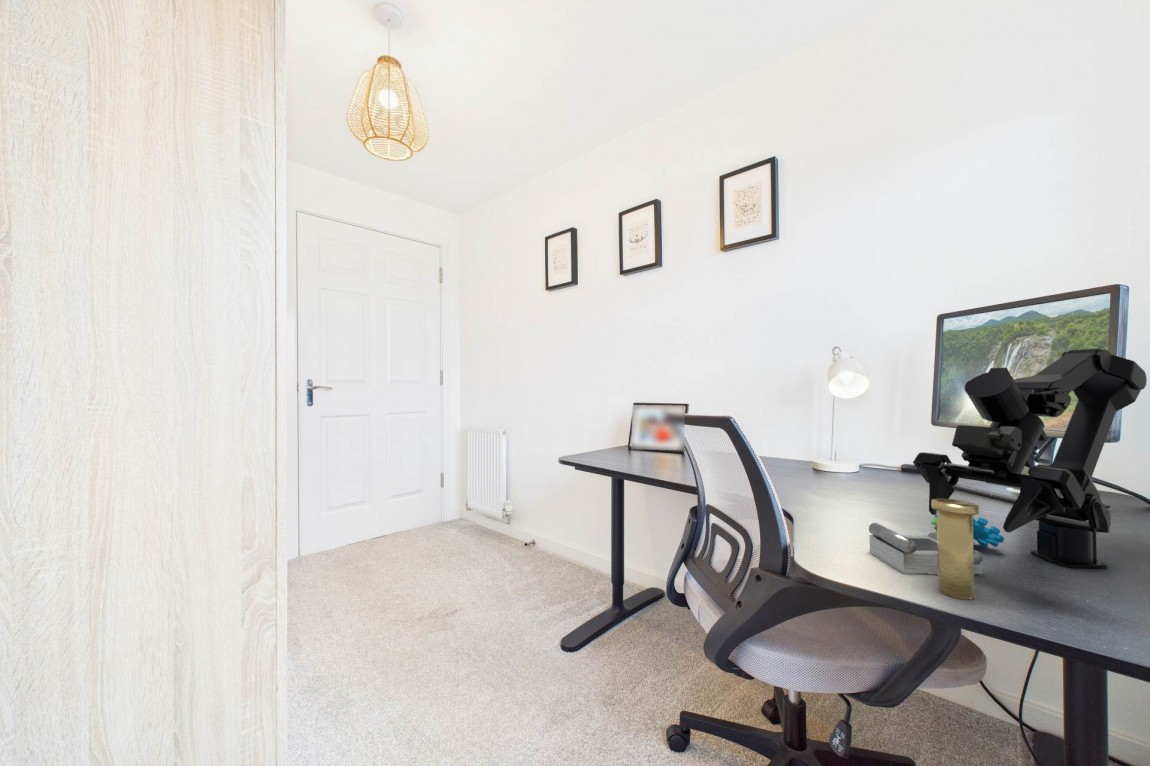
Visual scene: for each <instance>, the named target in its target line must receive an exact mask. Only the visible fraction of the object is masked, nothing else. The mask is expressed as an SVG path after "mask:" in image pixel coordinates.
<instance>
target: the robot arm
mask: <svg viewBox="0 0 1150 766" xmlns="http://www.w3.org/2000/svg"><path fill="white" fill-rule="evenodd" d="M1147 380H1148V379H1147V374H1146V372H1145V370H1144V369H1143V368H1142V367H1141V366H1140V365H1139V364H1138V363H1136V361H1134V360H1133V359H1132V360H1131V359H1129V358H1124V357H1121V356H1119V355H1115V354H1112V353H1111V352H1110V351H1109V350H1108V349H1106V348H1103V349H1102V348H1100V347H1098V348H1097V347H1095V348H1079V349H1078V348H1077V349H1069V350H1067V351H1063V353H1062V354H1061V357H1060V358H1058V359H1056V360H1055V361H1054V362H1052V363H1051V364H1048V365H1047V366H1046V367H1044V368H1043V369H1042V370H1041V371H1039V372H1037V373H1036V374H1034V375H1031V376H1026V377H1017V378H1013V376H1012V375H1011V372H1010V370H1009V369H1008V368H1007V367H991V368H990V369H989V371H987V372H985V373H981V374H979V375H976V376H975V377H973V378H971V379H970V380H968V381H966V383H965V385H964V392H965V393H966V394H967V396H968V398H969V400H970V401H971V403H972V404H973V406H974V407H975V409H976V411H977V412H978V414H979V416H980V417H981V419H983V420H985V421H987V422H990V425H989V426H978V425H976V426H975V425H964V424H963V425H961V424H960V425H956V428H955V432H954V435H953V439H952V444H951V446H952V447H955V448H957V449H958V450H960V451H962V453H961V455H960V456H961V458H962V460H963V461H965V462H968V465H965V464H960V463H959V464H957V463H953V462H952V461H951V459H950V458H949V456H948V455H947V454H943V453H942V454H941V453H934V452H933V453H932V452H923V451H921V452H919V453H918V454H917V455H915V458H914V460H913V461H912V463H913V464H914V465H913V466H915V467H916V469H917V471H918V472H919V473H920V475H921V476H922V478H923V479H924V481H925V482H926V483H927V484H928V485H929V492H928V493H929V494H928V495H929V496H928V511H929V513H930V514H931V515H932V516H935V514H936V513H937V510H935V509H933V508H932V504H931V500H932V499H950V497H951V496H953V494H954V492H955V491H956V490H955V489H954V487H955V486H956V485H957V484H958V482H959V481H960V480H959V479H964V480H970V481H977V482H983V483H985V484H988V485H989V484H990V485H994V486H1001V487H1007V488H1013V489H1019V494H1018V496H1017V498H1016V500H1015V501H1014V504H1013V505H1012V507H1011V509H1010V510H1009V512H1008V514H1007V515H1006V517H1005V520H1004V523H1003V526H1002V528H1003V530H1004V532H1006V533H1011V532H1013V531H1016V530H1017V529H1019V528H1021V527H1023V526H1025V525H1027V524H1028V523H1030V522H1033V521H1038V529H1037V531H1036V549H1030V554H1032V555H1035V556H1038V557H1040V558H1043V559H1046V560H1048V561H1050V562H1053V563H1055V564H1058V565H1060V566H1063V567H1067V568H1095V569H1096V568H1098V569H1099V568H1107V569H1108V568H1109V565H1108V564H1107V563H1104V562H1101V561H1098V558H1097V557H1098V555H1097V552H1098V551H1097V548H1098V547H1097V534H1098V533H1104V534H1105V533H1106V534H1109V533H1110V532H1111V531H1110V528H1111V525H1112V522H1111V520H1112V517H1111V515H1110V513H1109V511H1108V509H1107V508H1106V506H1105V504H1104V503H1103V501H1102V500H1101V494H1100V492H1099V490H1098V489H1097V487H1096V484H1095V483H1094V481H1093V479H1092V477H1093V475H1094V472H1095V469H1096V466H1097V465H1098V464H1097V463H1098V461H1099V459H1100V455H1101V454H1102V451H1103V448H1104V446H1105V443H1106V440H1107V437H1108V434H1109V432H1110V430H1111V427H1112V425H1113V422H1114V420H1115V419H1114V418H1115V417H1116V414H1117V412H1118V411H1120V410H1123V409H1124V408H1126V407H1128V406H1129V405H1132V404H1133V403H1135V402H1136V400H1137V399H1138V397H1139V395H1140V393H1141V391H1142V390H1144V389H1145V388H1146V386H1147ZM1072 392H1073V393H1074V395H1075V397H1076V398H1077V402H1076V405H1075V407H1074V409H1073V412H1072V414H1071V417H1070V419H1069V422H1068V424H1067V427H1066V429H1065V432H1064V434H1063V437H1062V439H1061V441H1060V443H1059V446H1058V449H1057V451H1056V453H1055V456H1054V459H1053V461H1052V463H1051V464H1049V465H1043V464H1037V465H1033V464H1034V461H1033V459H1032V458H1031V455H1032V452H1034V449H1035V446H1036V444H1037V443H1038V442H1047V433H1046V432H1045V430H1044V429H1045V423H1044V421H1043V420H1042V419H1041V418H1040V417H1042V418H1043V417H1044V418H1058V417H1060V416H1061V415H1063V413H1064V412H1065V411H1066V410H1067V409H1068V408H1069V406H1070V404H1071V402H1072V396H1071V395H1070V394H1071V393H1072ZM1025 467H1029V468H1028V470H1027V473H1028V474H1022V471H1024V468H1025Z"/></svg>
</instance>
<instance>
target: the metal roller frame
mask: <svg viewBox="0 0 1150 766" xmlns="http://www.w3.org/2000/svg"><path fill="white" fill-rule="evenodd" d="M868 531H869V533H870V534H869V554H871V555H872V556H874V557H876V558H877V559H879V560H880V561H882V562H884V564H887V565H888V566H890V567H891V568H893V569H895V570H897V571H898V572H900V573H901V574H903V575H916V574H915V573H928V574H927V575H938V558H937V533H935V532H930V533H928V535H904V534H903V535H901V534H900V533H898V532H896V531H894V530H891V529H890V528H887V527H885V526H884V525H881V524H879V523H878V522H873V523H870V524H869V526H868ZM983 560H984V556H983V554H982V552H980V551H978V550H975V549H974V574H984V571H983V570H984V569H983V568H984V567H983V564H982V563H983Z"/></svg>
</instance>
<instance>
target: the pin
mask: <svg viewBox="0 0 1150 766" xmlns="http://www.w3.org/2000/svg"><path fill="white" fill-rule="evenodd" d="M931 504H932V508H933V509H935V510H937V558H938V574H937V590H938V592H939V593H941V594H943V595H945V596H947V597H951V598H954V599H958V598H960V599H959V600H964V599H970V598H974V599H975V575H974V550H975V548H974V545H975V544H974V543H975V542H974V540H973V519H974V516H975V515H979V514H980V513H979V511H980V510H979V509H980V508H979V505H978V504H976V503H975V502H970V501H966V500H960V499H953V498H949V499H932V500H931Z"/></svg>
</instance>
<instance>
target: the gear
mask: <svg viewBox="0 0 1150 766" xmlns="http://www.w3.org/2000/svg"><path fill="white" fill-rule="evenodd" d="M988 523H989V520H988V519H986V518H983V517H981V516H979V517H978V519H977V520H976V519H974V518H973V541H976V542H977V543H978V544H979V545H980V544H981V545H980V546H982V545H985V546H984V547H988V546H989V545H991V546H992V547H998V546H999V544H1003V543H1004V540H1005V538H1004V536H1003V535H1002V534H1000V532H1001V530H1000V529H999V528H998V527H996V526H993V525H992V526H990V528H988V527H986V526H987V525H988ZM930 524H932V525H933V526H934V528H933V529H934V530H935V532H934V533H937V513H936V514H935V515H934V517H933V518H932V520H931V521H930Z"/></svg>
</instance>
